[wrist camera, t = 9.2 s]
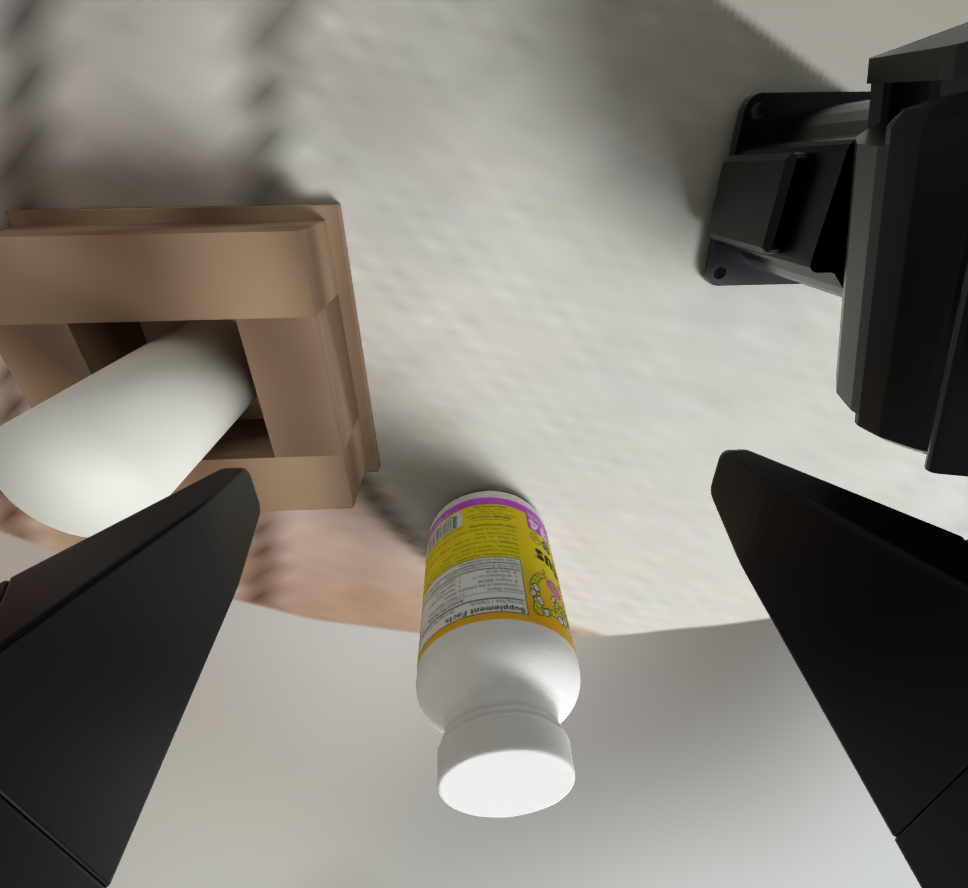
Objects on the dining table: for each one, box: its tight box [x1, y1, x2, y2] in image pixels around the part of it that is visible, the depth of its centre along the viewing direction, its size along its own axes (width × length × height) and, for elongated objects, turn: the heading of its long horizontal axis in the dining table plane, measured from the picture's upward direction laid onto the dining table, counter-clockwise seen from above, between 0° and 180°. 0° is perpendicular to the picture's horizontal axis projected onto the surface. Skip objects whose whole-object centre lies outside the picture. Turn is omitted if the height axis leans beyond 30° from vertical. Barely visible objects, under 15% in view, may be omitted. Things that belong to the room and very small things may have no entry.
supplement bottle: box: [416, 491, 580, 817], centre depth 21 cm, size 7×7×13 cm
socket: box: [0, 204, 380, 512], centre depth 19 cm, size 12×12×4 cm
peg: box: [0, 319, 257, 537], centre depth 16 cm, size 4×4×9 cm
